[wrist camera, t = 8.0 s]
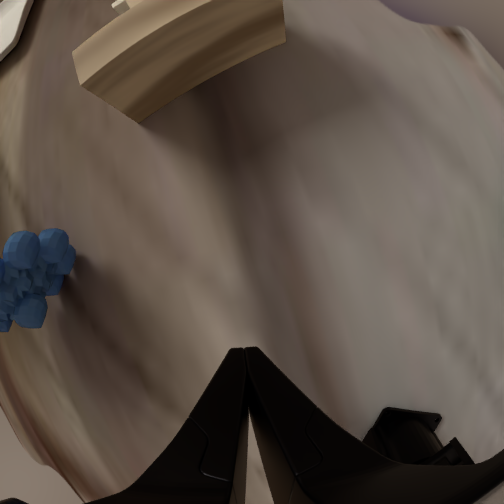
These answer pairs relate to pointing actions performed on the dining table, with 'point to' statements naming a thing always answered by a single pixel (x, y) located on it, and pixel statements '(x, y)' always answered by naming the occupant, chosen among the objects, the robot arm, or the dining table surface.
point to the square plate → (12, 23)
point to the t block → (173, 49)
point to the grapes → (32, 275)
